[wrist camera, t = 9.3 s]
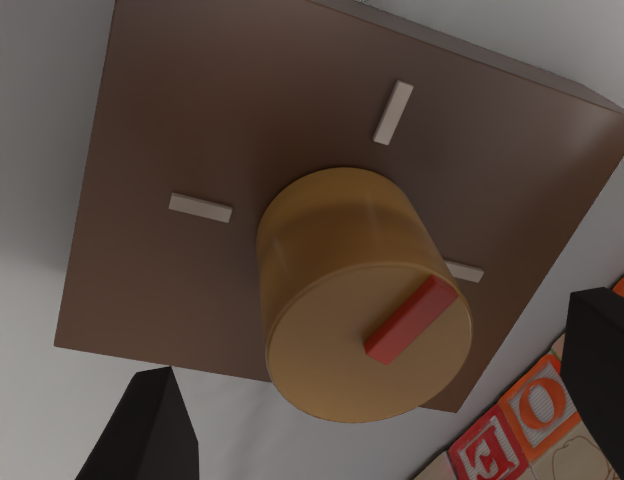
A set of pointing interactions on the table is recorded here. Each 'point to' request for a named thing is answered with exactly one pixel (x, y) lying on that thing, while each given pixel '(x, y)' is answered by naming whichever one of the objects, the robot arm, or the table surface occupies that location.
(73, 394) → the table surface
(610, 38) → the table surface
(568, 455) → the stack of blocks
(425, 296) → the dial
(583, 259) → the table surface
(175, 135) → the dial panel
